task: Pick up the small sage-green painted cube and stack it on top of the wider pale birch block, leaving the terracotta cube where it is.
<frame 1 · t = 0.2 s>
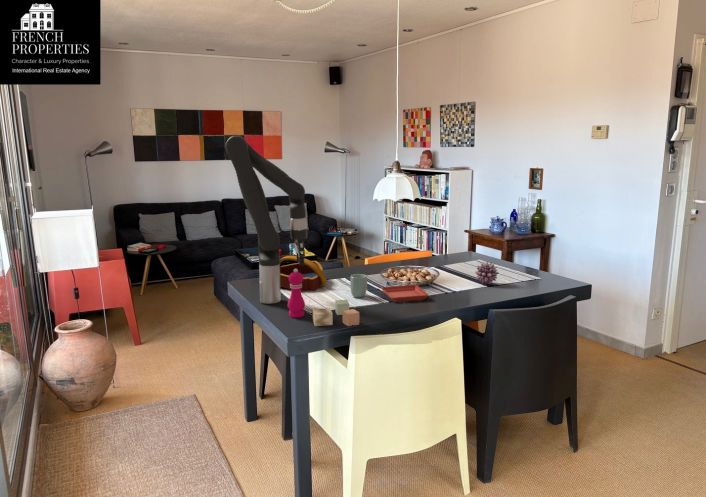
hand: (300, 263, 241), 17 cm above the table, tool pointing down, fingers open, 8 cm apart
terracotta cube: (350, 323, 213), on the table
birch block: (322, 323, 214), on the table
pepper mill: (296, 315, 223), on the table
plant saucer: (404, 297, 251), on the table
cup: (358, 297, 251), on the table
purple spiky ball: (486, 284, 274), on the table
decorative basket: (298, 284, 275), on the table
sage cube: (342, 313, 226), on the table
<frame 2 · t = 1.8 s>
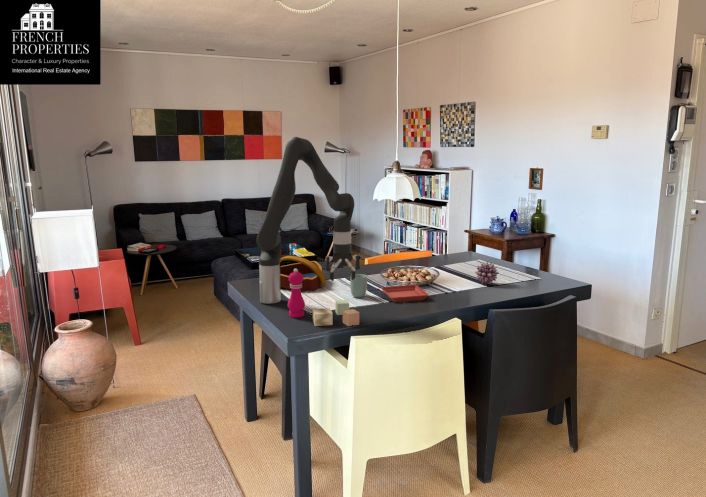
hand: (342, 280, 224), 14 cm above the table, tool pointing down, fingers open, 8 cm apart
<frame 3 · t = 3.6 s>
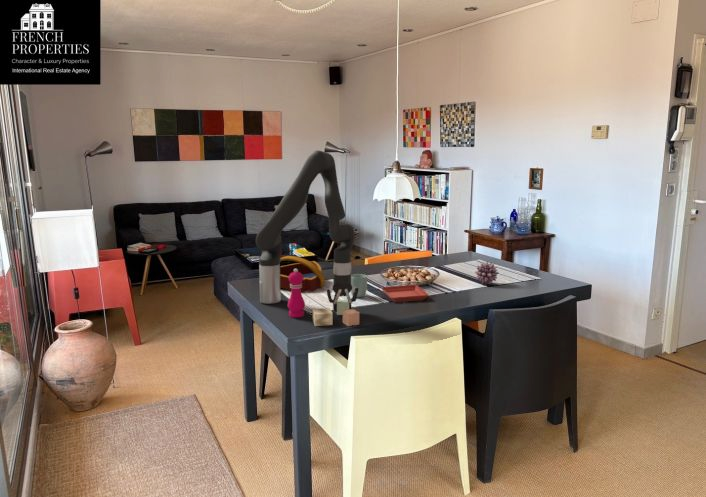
hand: (342, 311, 226), 1 cm above the table, tool pointing down, fingers closed on sage cube, 5 cm apart
sage cube: (342, 312, 226), on the table, touching gripper
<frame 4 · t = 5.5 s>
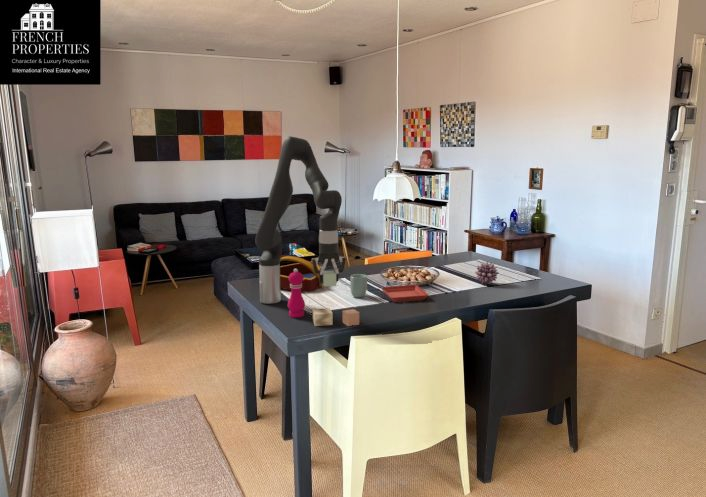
hand: (328, 282, 214), 16 cm above the table, tool pointing down, fingers closed on sage cube, 5 cm apart
sage cube: (328, 284, 214), point 15 cm above the table, touching gripper
when the fingers open (7 cm above the table, at t = 7.8 s): sage cube drops 1 cm, resting on birch block.
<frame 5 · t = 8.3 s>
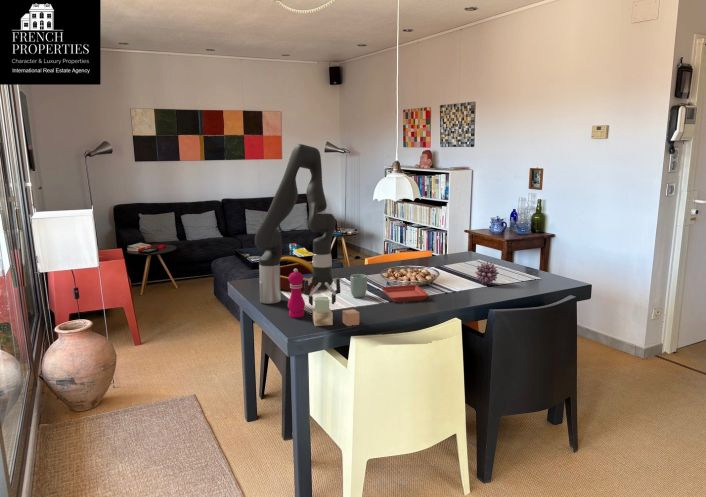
hand: (322, 304, 212), 8 cm above the table, tool pointing down, fingers open, 8 cm apart
birch block: (322, 323, 214), on the table, touching sage cube
sage cube: (322, 311, 213), point 5 cm above the table, touching birch block
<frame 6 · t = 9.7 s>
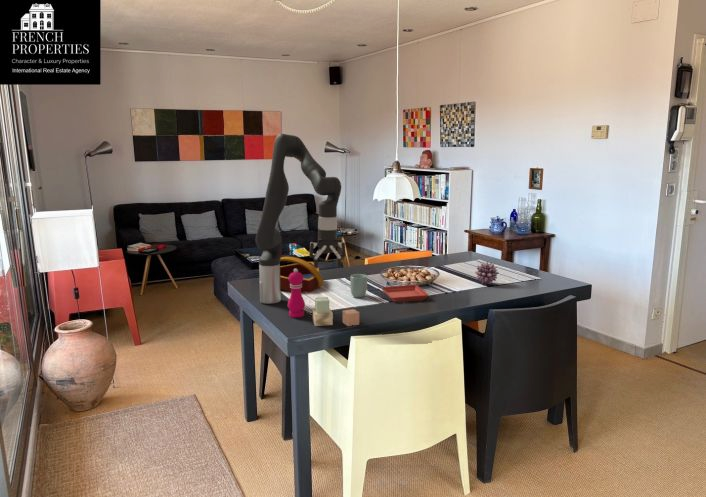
hand: (327, 267, 214), 21 cm above the table, tool pointing down, fingers open, 8 cm apart
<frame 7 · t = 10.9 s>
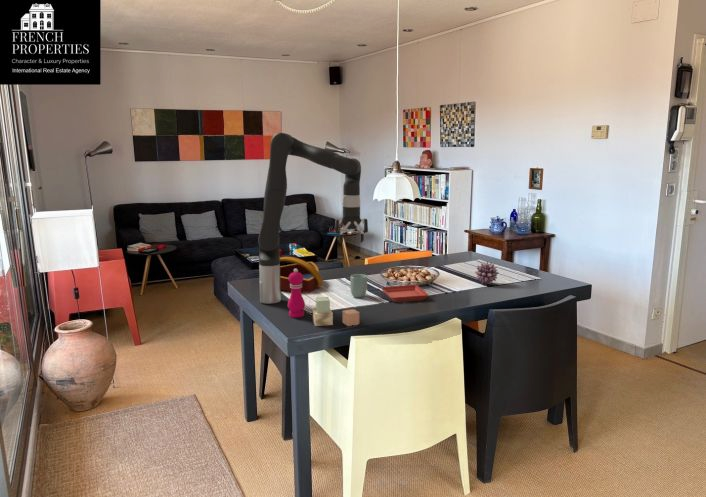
hand: (351, 242, 233), 28 cm above the table, tool pointing down, fingers open, 8 cm apart
birch block: (322, 323, 214), on the table
sage cube: (322, 311, 213), point 5 cm above the table
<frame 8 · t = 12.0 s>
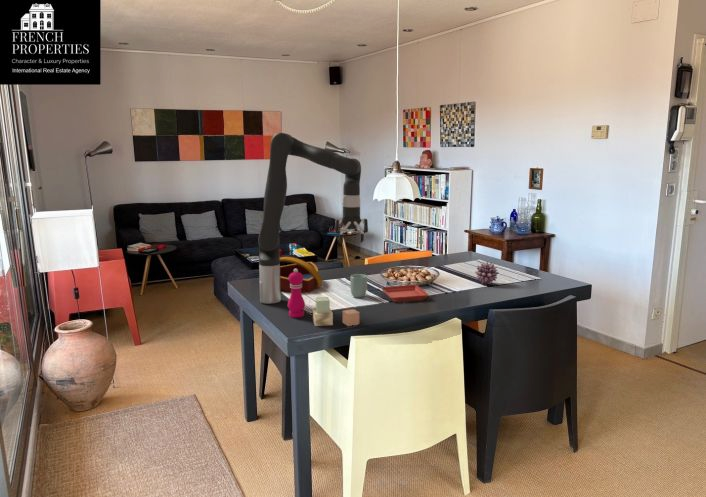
hand: (351, 242, 233), 28 cm above the table, tool pointing down, fingers open, 8 cm apart
at the end: sage cube 0.1 cm off-centre on the birch block, point 5.0 cm above the birch block's base; sage cube touching birch block; the gripper is holding nothing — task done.
